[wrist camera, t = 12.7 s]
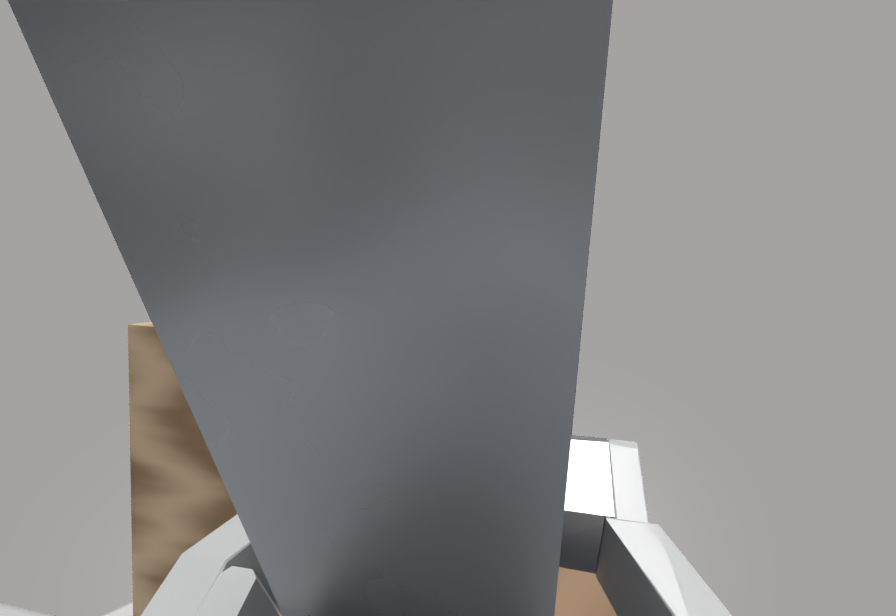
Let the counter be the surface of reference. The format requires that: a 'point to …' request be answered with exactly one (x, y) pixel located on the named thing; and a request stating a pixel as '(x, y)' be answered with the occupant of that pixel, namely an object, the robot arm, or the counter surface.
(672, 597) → the robot arm
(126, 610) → the counter surface
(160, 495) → the oak shelf block
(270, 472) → the hook bar
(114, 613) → the counter surface
